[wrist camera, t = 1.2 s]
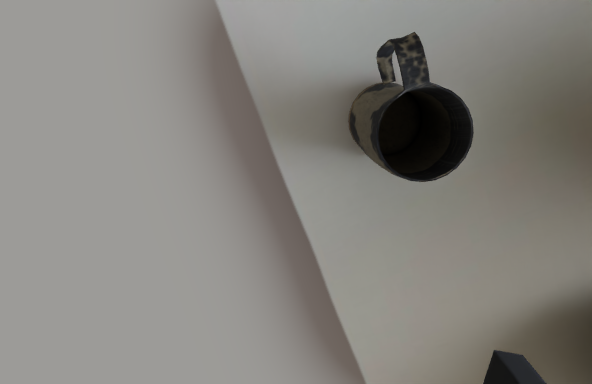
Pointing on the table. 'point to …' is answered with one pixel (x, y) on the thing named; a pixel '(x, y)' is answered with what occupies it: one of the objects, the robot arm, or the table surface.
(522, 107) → the table surface
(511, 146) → the table surface
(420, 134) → the mug
